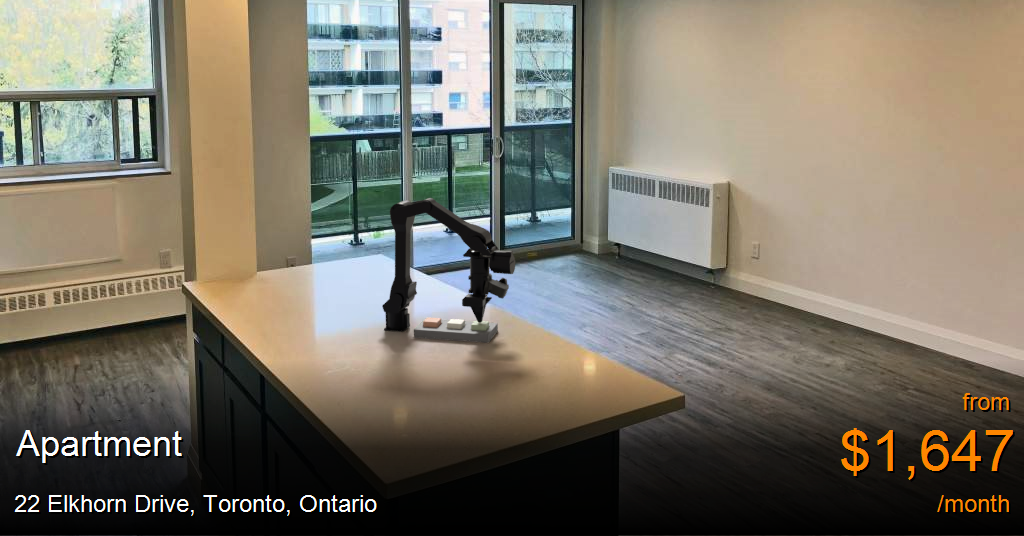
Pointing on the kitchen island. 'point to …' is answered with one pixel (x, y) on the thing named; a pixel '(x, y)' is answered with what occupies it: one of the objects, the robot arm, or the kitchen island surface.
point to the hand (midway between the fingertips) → (480, 322)
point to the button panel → (456, 332)
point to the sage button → (480, 325)
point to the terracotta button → (432, 322)
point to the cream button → (456, 324)
